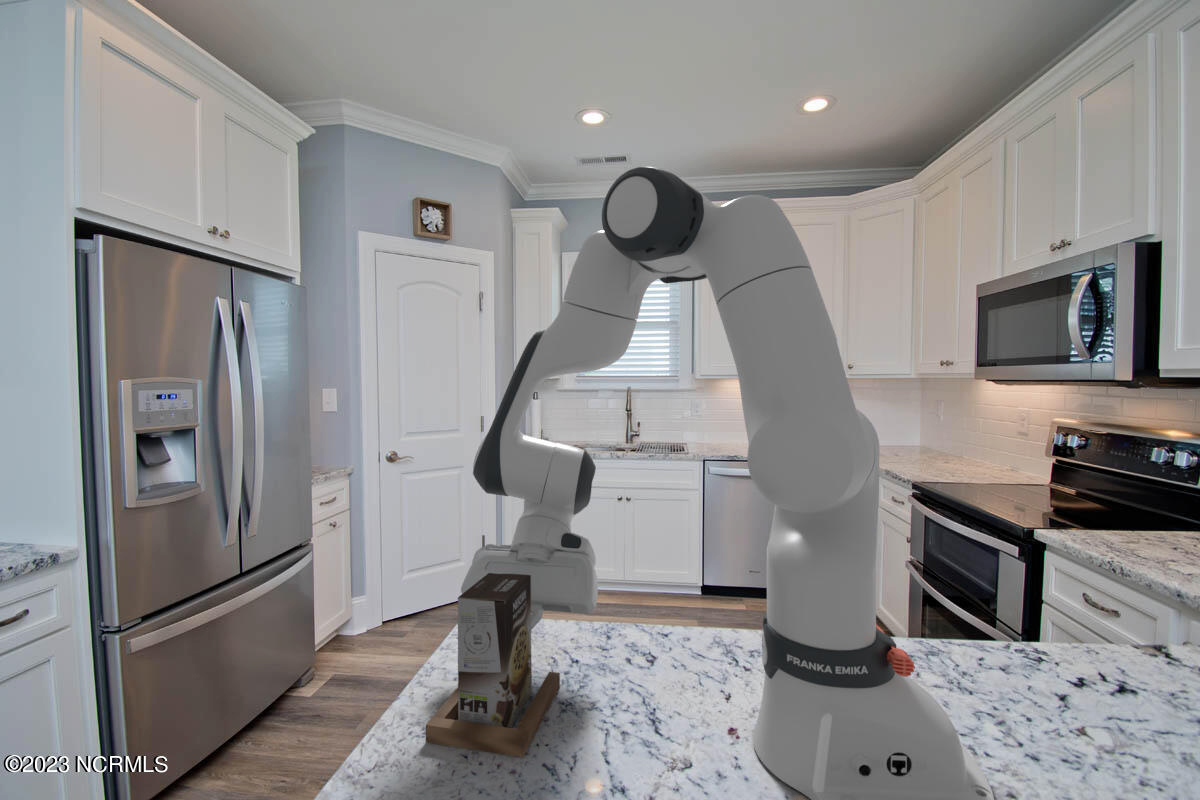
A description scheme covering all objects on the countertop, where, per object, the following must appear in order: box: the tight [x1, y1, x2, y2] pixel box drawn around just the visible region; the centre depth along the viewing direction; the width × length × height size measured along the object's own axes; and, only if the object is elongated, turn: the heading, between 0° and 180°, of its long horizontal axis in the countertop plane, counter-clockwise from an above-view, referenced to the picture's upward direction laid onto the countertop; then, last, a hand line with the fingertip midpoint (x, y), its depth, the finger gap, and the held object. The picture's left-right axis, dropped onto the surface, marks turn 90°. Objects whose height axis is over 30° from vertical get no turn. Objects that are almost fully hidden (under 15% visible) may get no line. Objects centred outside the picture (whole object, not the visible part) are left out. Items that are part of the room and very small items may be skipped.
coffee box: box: [457, 573, 533, 728], centre depth 63 cm, size 9×6×16 cm
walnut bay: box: [425, 671, 561, 758], centre depth 63 cm, size 12×14×2 cm
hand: (517, 639), depth 69 cm, fingers closed
